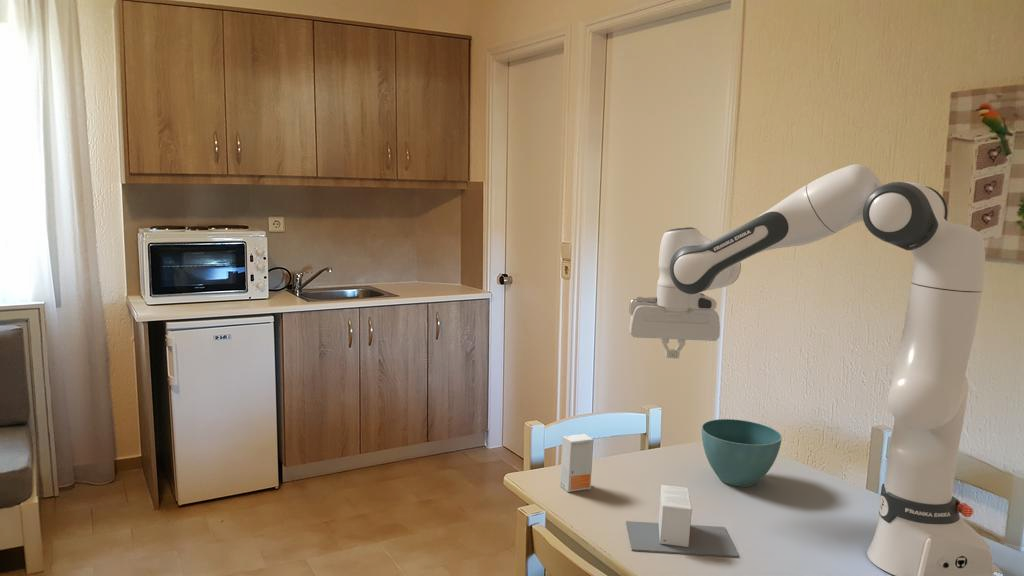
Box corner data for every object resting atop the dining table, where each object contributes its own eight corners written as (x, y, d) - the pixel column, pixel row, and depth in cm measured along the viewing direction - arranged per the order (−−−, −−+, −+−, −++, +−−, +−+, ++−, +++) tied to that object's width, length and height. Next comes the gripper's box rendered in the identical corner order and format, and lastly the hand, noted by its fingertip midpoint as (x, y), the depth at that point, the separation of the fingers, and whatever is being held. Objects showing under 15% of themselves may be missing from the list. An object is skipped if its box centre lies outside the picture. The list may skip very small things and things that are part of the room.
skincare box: (568, 493, 165) (570, 441, 163) (559, 485, 169) (561, 435, 167) (591, 489, 168) (594, 439, 166) (582, 482, 171) (584, 433, 170)
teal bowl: (792, 483, 175) (796, 434, 173) (749, 502, 163) (754, 449, 162) (726, 460, 189) (730, 414, 187) (683, 476, 177) (686, 427, 175)
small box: (685, 523, 151) (689, 548, 141) (657, 520, 152) (659, 544, 142) (688, 486, 150) (692, 509, 140) (660, 483, 151) (662, 505, 140)
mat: (724, 528, 150) (724, 526, 150) (738, 557, 138) (738, 555, 138) (625, 522, 151) (626, 521, 151) (631, 550, 140) (631, 549, 139)
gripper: (631, 298, 165) (628, 358, 166) (723, 302, 163) (719, 363, 165) (628, 294, 171) (625, 352, 173) (717, 298, 170) (713, 356, 171)
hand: (672, 357), depth 169 cm, fingers closed
